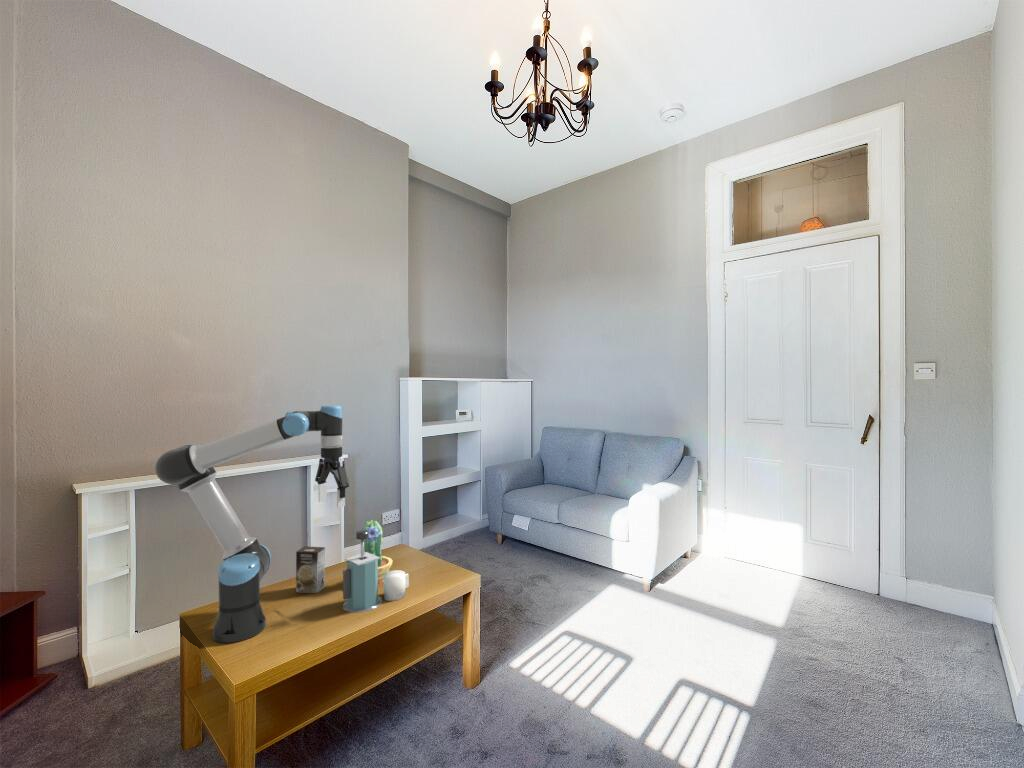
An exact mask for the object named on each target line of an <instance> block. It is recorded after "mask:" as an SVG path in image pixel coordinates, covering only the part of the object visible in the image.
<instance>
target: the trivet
mask: <svg viewBox="0 0 1024 768" xmlns="http://www.w3.org/2000/svg"><path fill="white" fill-rule="evenodd" d="M383 600H384V599H383V598H382V597H381V596H380V595H378V601H377V603H376V605H375V606H372V607H370V608H367V609H362V610H353V609H351V608H349V607H348V606H347V600H346V601H344V602H343V604H342V609H343V610H344V611H346V612H350V613H365V612H368V611H369V612H370V611H373V610H375V609H376V608H379V607H380V606H381V605H382V604H383Z"/></svg>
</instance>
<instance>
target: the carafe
mask: <svg viewBox="0 0 1024 768" xmlns="http://www.w3.org/2000/svg"><path fill="white" fill-rule="evenodd" d="M378 559H380V557H378V556H375V555H373V554H370V553H368V552H365V551H364V559H363V560H361V553H358V554H356V555H351V556H349V557H346V558H345V559H344V560H345V561H347V562H346V569H343V570H342V589H343V590H342V599H343V600H346V601H347V606H348V607H349V608H351V609H353V610H362V609H367V608H370V607H372V606H375V605H376V603H377V601H378V596H379V583H378Z"/></svg>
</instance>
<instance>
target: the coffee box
mask: <svg viewBox="0 0 1024 768" xmlns="http://www.w3.org/2000/svg"><path fill="white" fill-rule="evenodd" d="M325 551H326V547H325V546H308V545H307V546H306V545H305V546H303V547H301V548H300V549H298V550H297V551H296V552H295V562H296V563H295V570H296V571H295V573H296V574H295V592H296V593H302V594H303V593H305V594H306V593H307V594H317V593H319V592H320V591H322V590H323V589H324V588H325V585H326V584H325V583H326V581H325V579H326V577H325V575H326V574H325V573H326V571H325V569H326V568H325V567H326V563H325V562H326V559H325V558H326V552H325Z"/></svg>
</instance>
